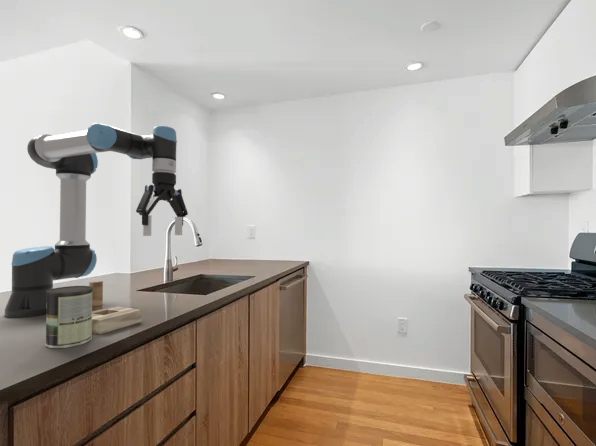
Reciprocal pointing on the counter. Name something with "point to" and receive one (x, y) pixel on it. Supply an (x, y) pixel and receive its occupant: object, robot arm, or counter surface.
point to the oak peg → (97, 295)
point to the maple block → (114, 319)
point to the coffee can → (68, 316)
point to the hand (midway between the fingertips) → (163, 235)
